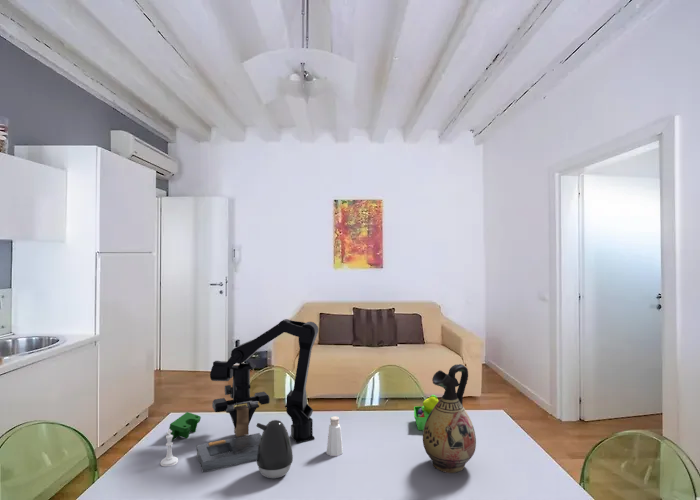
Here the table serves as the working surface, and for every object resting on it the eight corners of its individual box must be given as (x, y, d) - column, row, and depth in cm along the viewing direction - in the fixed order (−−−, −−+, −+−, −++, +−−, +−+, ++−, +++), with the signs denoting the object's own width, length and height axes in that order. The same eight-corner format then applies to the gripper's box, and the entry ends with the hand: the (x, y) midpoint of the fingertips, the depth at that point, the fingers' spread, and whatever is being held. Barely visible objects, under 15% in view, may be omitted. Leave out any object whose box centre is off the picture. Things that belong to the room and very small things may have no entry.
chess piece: (181, 460, 129) (181, 427, 129) (169, 467, 124) (170, 433, 124) (168, 457, 130) (168, 425, 131) (156, 465, 126) (156, 431, 126)
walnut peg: (245, 430, 149) (245, 404, 149) (248, 434, 146) (248, 408, 146) (234, 432, 147) (234, 406, 148) (236, 436, 144) (237, 410, 144)
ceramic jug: (446, 484, 114) (445, 374, 115) (412, 460, 128) (412, 362, 129) (492, 470, 122) (491, 366, 123) (455, 448, 136) (455, 355, 136)
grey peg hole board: (259, 441, 141) (259, 432, 141) (270, 456, 131) (270, 446, 131) (196, 455, 132) (196, 444, 132) (202, 472, 121) (202, 460, 121)
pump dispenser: (260, 464, 126) (260, 413, 126) (295, 465, 126) (295, 414, 126) (251, 483, 116) (251, 427, 116) (289, 483, 115) (289, 427, 116)
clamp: (183, 452, 144) (183, 433, 140) (167, 447, 144) (167, 427, 141) (201, 426, 154) (202, 407, 151) (187, 421, 155) (187, 402, 152)
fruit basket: (413, 419, 161) (413, 389, 161) (437, 420, 160) (437, 390, 160) (414, 431, 150) (414, 399, 150) (439, 432, 148) (439, 400, 149)
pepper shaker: (346, 450, 135) (345, 416, 135) (338, 457, 130) (338, 422, 130) (331, 447, 137) (331, 413, 137) (323, 454, 132) (323, 419, 133)
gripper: (261, 372, 158) (261, 413, 158) (209, 379, 150) (209, 423, 149) (270, 379, 149) (270, 424, 148) (215, 387, 140) (215, 434, 140)
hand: (241, 426), depth 147 cm, fingers closed on walnut peg, 4 cm apart
